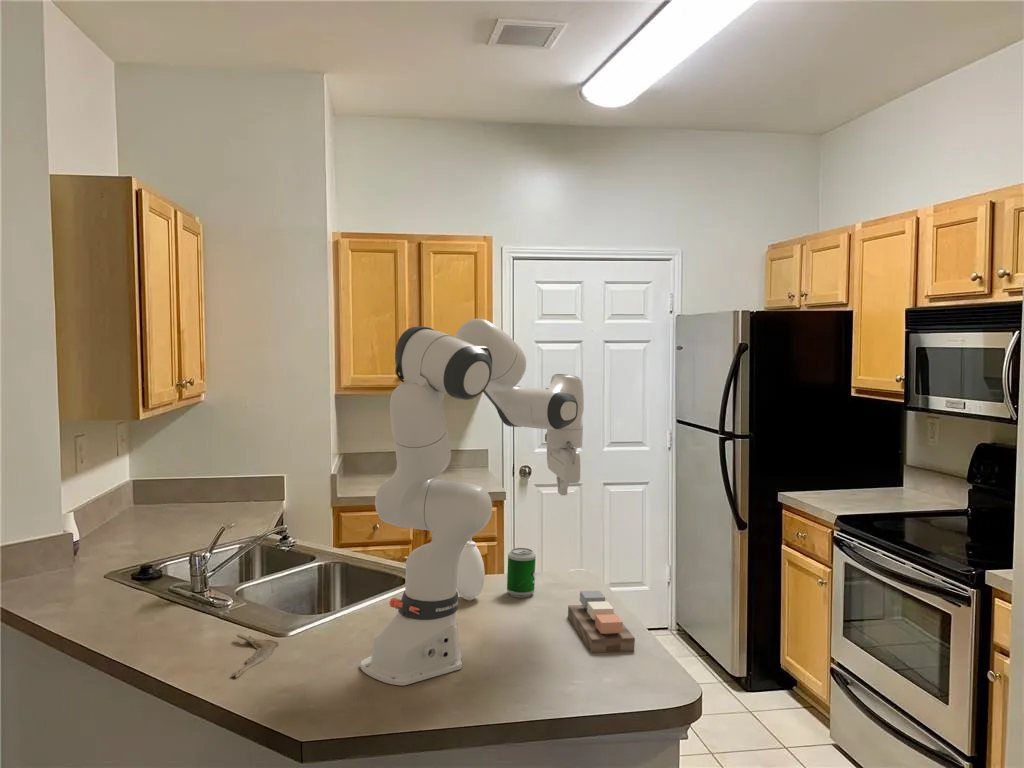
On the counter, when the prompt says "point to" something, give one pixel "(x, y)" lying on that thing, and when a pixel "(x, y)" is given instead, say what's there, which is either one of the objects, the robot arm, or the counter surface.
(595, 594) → the slate key
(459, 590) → the sauce bottle
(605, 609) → the ivory key
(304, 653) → the counter surface
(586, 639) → the keypad board
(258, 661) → the jawbone
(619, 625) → the terracotta key
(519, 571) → the soda can
